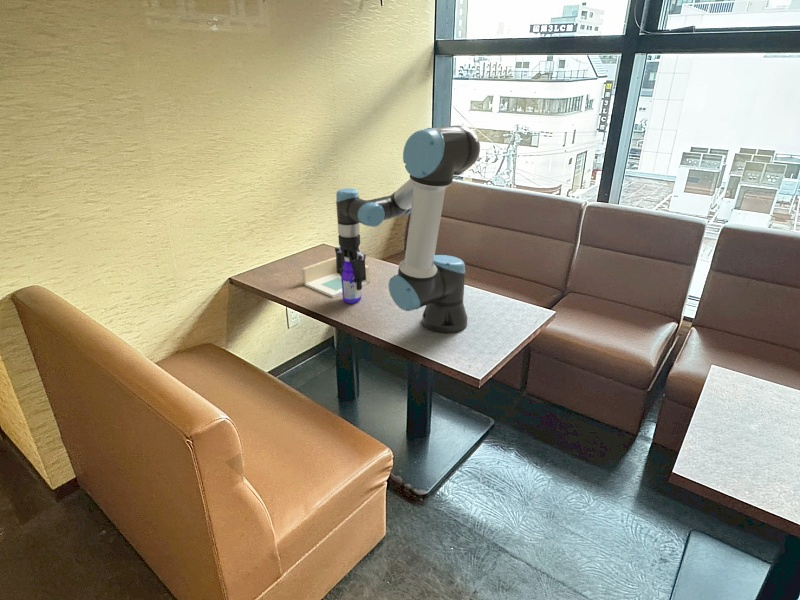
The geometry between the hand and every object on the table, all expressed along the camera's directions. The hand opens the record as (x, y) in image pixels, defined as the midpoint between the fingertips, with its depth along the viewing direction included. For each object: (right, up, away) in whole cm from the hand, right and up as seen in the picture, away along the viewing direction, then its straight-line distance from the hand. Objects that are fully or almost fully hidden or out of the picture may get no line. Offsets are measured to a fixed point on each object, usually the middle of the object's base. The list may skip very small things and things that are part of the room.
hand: (352, 294), depth 185 cm
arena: (-8, +4, +15) cm, 17 cm away
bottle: (0, -2, +1) cm, 3 cm away
